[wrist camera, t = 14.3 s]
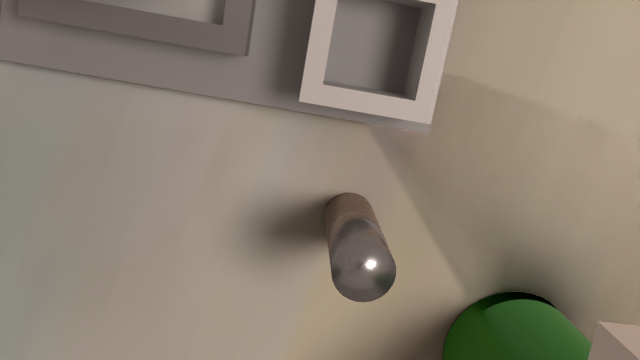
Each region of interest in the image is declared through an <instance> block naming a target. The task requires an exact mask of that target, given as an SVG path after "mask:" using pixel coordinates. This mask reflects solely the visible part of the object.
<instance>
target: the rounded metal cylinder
mask: <svg viewBox="0 0 640 360" xmlns="http://www.w3.org/2000/svg"><path fill="white" fill-rule="evenodd" d="M325 225H326V233H327V241H328V249H329V257H330V265H331V273H332V279H333V283H334V285H335V287H336V288H337V290H338V291H339V292H340V293H341V294H342V295H343V296H345V297H346V298H348V299H350V300H353V301H357V302H368V301H373V300H376V299H378V298H380V297H382V296H383V295H384V294H386V293H387V292H388V290H389V289H390V288H391V286H392V285H393V283H394V280H395V276H396V266H395V262H394V259H393V257H392V255H391V252H390V250H389V248H388V245H387V243H386V241H385V238H384V236H383V233H382V231H381V229H380V226H379V224H378V222H377V219H376V217H375V214H374V212H373V210H372V207H371V205H370V203H369V202H368V201H367V200H366V199H365V198H364V197H362V196H361V195H358V194H355V193H344V194H340V195H338V196H336V197H335V198H333V199H332V200H331V201H330V202H329V204H328V205H327V207H326V210H325Z"/></svg>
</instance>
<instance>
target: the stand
mask: <svg viewBox="0 0 640 360" xmlns="http://www.w3.org/2000/svg"><path fill="white" fill-rule="evenodd" d="M458 3H459V0H1V18H0V60H4V61H10V62H16V63H22V64H27V65H33V66H39V67H45V68H51V69H56V70H62V71H68V72H74V73H79V74H85V75H91V76H97V77H103V78H108V79H114V80H120V81H126V82H132V83H137V84H143V85H149V86H155V87H160V88H166V89H172V90H178V91H184V92H189V93H195V94H201V95H207V96H212V97H218V98H224V99H230V100H236V101H241V102H247V103H253V104H259V105H265V106H270V107H276V108H282V109H288V110H293V111H299V112H305V113H311V114H317V115H322V116H328V117H334V118H340V119H346V120H351V121H357V122H363V123H369V124H374V125H380V126H386V127H392V128H398V129H403V130H409V131H415V132H421V133H426V134H429V131H430V127H431V123H432V118H433V114H434V109H435V105H436V100H437V96H438V92H439V87H440V83H441V78H442V74H443V69H444V65H445V60H446V56H447V52H448V47H449V43H450V38H451V34H452V29H453V25H454V21H455V16H456V12H457V7H458Z"/></svg>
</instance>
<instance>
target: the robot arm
mask: <svg viewBox="0 0 640 360" xmlns="http://www.w3.org/2000/svg"><path fill="white" fill-rule="evenodd" d="M588 360H640V328H639V327H638V326H634V325H625V324H616V323H607V322H598V325H597V328H596V332H595V335H594V339H593V342H592V346H591V350H590V353H589V357H588Z"/></svg>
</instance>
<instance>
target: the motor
mask: <svg viewBox="0 0 640 360" xmlns="http://www.w3.org/2000/svg"><path fill="white" fill-rule="evenodd" d="M591 346H592V343H591V342H590V341H589V340H588V339H587V338H586V337H585V336H584V335H583V334H582V333H581V332H580V331H579V330H578V329H577V328H576V327H575V326H574V325H573V324H572V323H571V322H570V321H569V320H568V319H567V318H566V317H565V316H564V315H563V314H562V313H561V312H560V311H559V310H558V309H557V308H556V307H555V306H554V305H553V304H552V303H551V302H549V301H548V300H546V299H544V298H542V297H540V296H538V295H535V294H531V293H527V292H514V291H513V292H503V293H498V294H494V295H491V296H488V297H486V298H484V299H481V300H480V301H478V302H476V303H474V304H473V305H471V306H470V307H469V308H467V309H466V310H465V311H464V312H463V313H462V314H461V315H460V316H459V317H458V318H457V320H456V321H455V322H454V324H453V325H452V327H451V329H450V330H449V332H448V335H447V337H446V340H445V343H444V348H443V360H588V357H589V353H590V350H591Z"/></svg>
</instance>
